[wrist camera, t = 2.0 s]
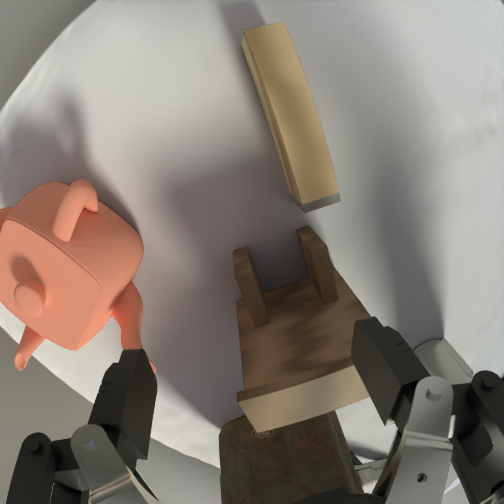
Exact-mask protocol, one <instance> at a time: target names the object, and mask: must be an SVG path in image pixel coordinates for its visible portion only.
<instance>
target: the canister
mask: <svg viewBox="0 0 504 504" xmlns="http://www.w3.org/2000/svg"><path fill="white" fill-rule="evenodd" d="M219 455H220V467H221V476H220V484H221V499H222V504H292V503H295V502H297V501H299V500H302V499H304V498H306V497H309V496H311V495H313V494H318V493H322V492H326V491H330V490H334V489H338V488H341V487H345V486H347V489H348V492H361V493H364V491H363V488H362V485H361V482H360V480H359V478H358V475H357V473H356V470H355V468H354V465H353V462H352V459H351V455H350V452H349V449H348V445H347V442H346V440H345V437H344V434H343V431H342V428H341V426H340V423H339V420H338V417H337V415H336V412H335V410H333V411H331V412H328V413H325V414H322V415H319V416H316V417H313V418H310V419H306V420H303V421H300V422H296V423H293V424H290V425H286V426H282V427H279V428H275V429H271V430H267V431H263V432H259V433H257V432H256V430H255V429H254V427H253V426H252V424H251V423H250V421H249V420H248V418H247V416H244V417H242V418H239V419H237V420H235V421H232V422H230V423H229V424H227V425H225V426H224V427H223V428H222V430H221V431H220V434H219Z"/></svg>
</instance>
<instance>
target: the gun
mask: <svg viewBox="0 0 504 504" xmlns="http://www.w3.org/2000/svg"><path fill="white" fill-rule="evenodd" d="M349 452H350V455H351V459H352V462H353V465H354V468H355V470H356V473H357V475H358V478H359V480H360V482H361V485H362V488H363V487H365V486H368V485H371V484H374V483H376V482H377V481H378V479H379V478H380V476H381V473H382V471H383V468H384V466H385V463H386V460H387V458H385V459H381V460H377V461H373V462H368V463H364V464H362V463H361V462H360V461H359V459H358V458H357V457H356V456H355V455H354V454H353V453H352V452H351V451H349Z"/></svg>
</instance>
